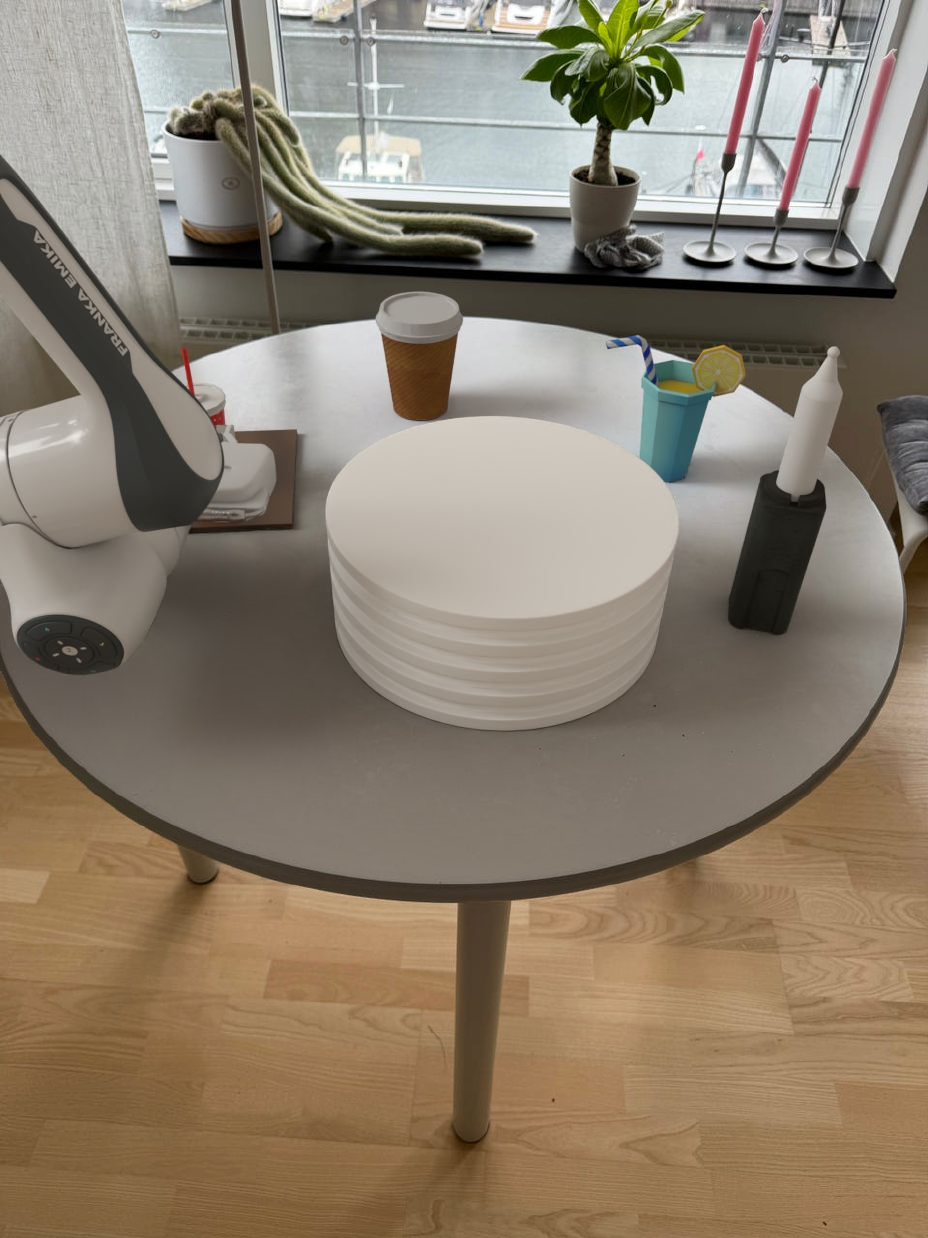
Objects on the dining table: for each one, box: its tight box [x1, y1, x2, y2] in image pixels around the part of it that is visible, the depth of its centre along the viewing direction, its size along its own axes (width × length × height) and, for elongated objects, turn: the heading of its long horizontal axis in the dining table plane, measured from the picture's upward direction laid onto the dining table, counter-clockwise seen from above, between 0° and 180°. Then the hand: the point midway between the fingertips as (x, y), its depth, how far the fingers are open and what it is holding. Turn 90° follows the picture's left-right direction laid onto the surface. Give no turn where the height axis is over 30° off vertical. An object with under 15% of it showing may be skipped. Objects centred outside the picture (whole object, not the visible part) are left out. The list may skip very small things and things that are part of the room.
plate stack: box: [324, 415, 681, 732], centre depth 81 cm, size 28×28×12 cm
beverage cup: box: [181, 346, 227, 428], centre depth 94 cm, size 6×6×14 cm
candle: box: [727, 345, 844, 635], centre depth 77 cm, size 5×5×25 cm
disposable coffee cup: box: [375, 291, 464, 421], centre depth 108 cm, size 10×10×12 cm
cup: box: [605, 334, 747, 483], centre depth 98 cm, size 14×8×15 cm, turn 92°
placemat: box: [188, 428, 298, 534], centre depth 99 cm, size 18×18×1 cm
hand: (175, 430), depth 88 cm, fingers open, 8 cm apart
